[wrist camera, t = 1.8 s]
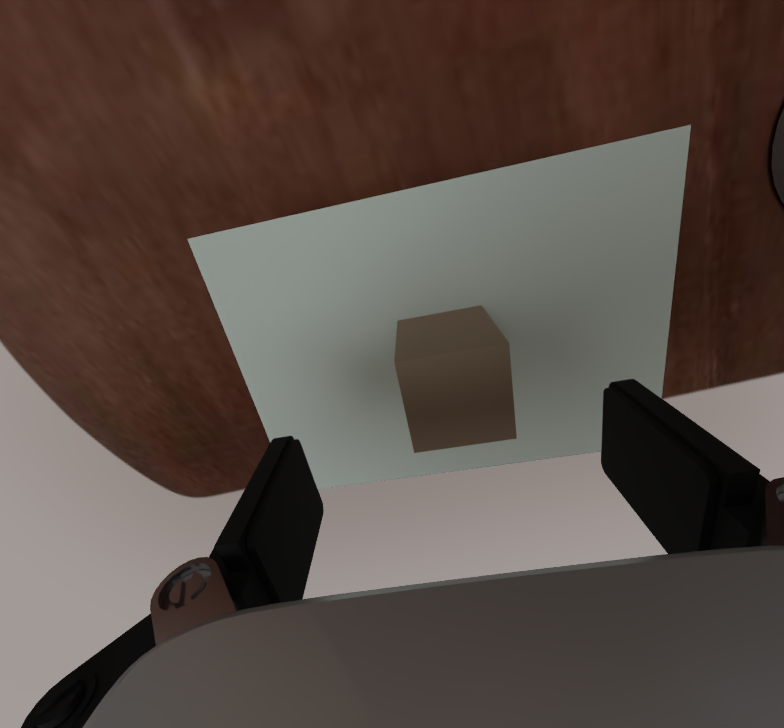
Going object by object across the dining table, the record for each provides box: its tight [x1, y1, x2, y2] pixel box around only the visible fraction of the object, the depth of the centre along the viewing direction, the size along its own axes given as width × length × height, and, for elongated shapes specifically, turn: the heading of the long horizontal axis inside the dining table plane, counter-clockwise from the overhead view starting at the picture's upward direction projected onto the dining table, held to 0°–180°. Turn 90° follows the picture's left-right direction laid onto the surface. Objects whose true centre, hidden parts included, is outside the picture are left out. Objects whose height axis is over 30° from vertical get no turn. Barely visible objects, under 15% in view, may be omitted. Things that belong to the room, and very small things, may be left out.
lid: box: [188, 125, 691, 489], centre depth 16 cm, size 21×15×6 cm
